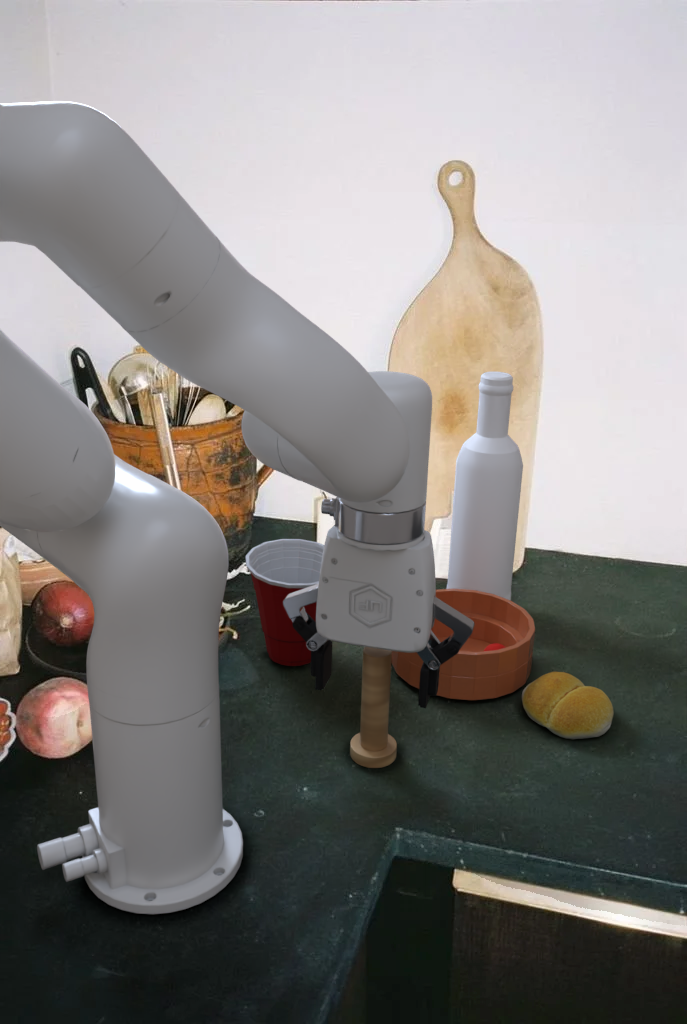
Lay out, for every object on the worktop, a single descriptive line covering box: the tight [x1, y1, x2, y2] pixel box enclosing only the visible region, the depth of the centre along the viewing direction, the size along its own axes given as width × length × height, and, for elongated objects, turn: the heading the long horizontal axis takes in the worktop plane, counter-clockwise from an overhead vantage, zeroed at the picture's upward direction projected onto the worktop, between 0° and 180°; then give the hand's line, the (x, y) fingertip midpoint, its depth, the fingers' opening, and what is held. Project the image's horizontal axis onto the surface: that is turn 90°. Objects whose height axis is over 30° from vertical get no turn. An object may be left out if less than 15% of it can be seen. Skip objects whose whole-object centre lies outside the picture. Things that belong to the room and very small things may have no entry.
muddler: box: [349, 646, 398, 769], centre depth 87 cm, size 4×4×11 cm
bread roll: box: [521, 671, 614, 740], centre depth 95 cm, size 8×9×4 cm
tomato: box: [484, 643, 506, 651], centre depth 102 cm, size 3×3×3 cm
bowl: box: [391, 588, 536, 701], centre depth 103 cm, size 15×15×6 cm
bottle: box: [445, 371, 524, 601], centre depth 111 cm, size 8×8×30 cm
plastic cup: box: [245, 538, 326, 667], centre depth 104 cm, size 11×11×12 cm
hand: (373, 691), depth 86 cm, fingers open, 9 cm apart
